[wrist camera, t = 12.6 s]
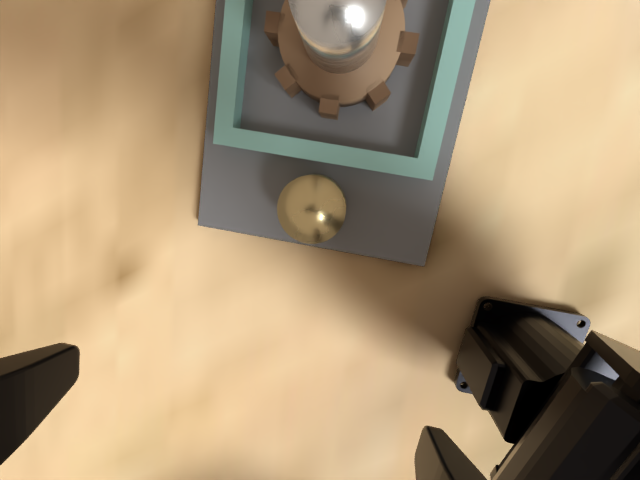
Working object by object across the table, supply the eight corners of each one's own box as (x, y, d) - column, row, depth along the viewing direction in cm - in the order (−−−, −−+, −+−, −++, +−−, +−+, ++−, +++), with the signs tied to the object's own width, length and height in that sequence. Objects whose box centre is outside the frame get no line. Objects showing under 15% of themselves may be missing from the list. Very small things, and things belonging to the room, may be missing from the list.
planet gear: (426, -22, 17) (467, -123, 11) (394, 129, 18) (416, 112, 12) (283, -42, 17) (249, -151, 11) (265, 108, 19) (227, 82, 13)
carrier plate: (507, -83, 16) (541, -138, 13) (422, 263, 20) (434, 279, 17) (230, -119, 17) (205, -178, 14) (202, 223, 21) (178, 233, 18)
